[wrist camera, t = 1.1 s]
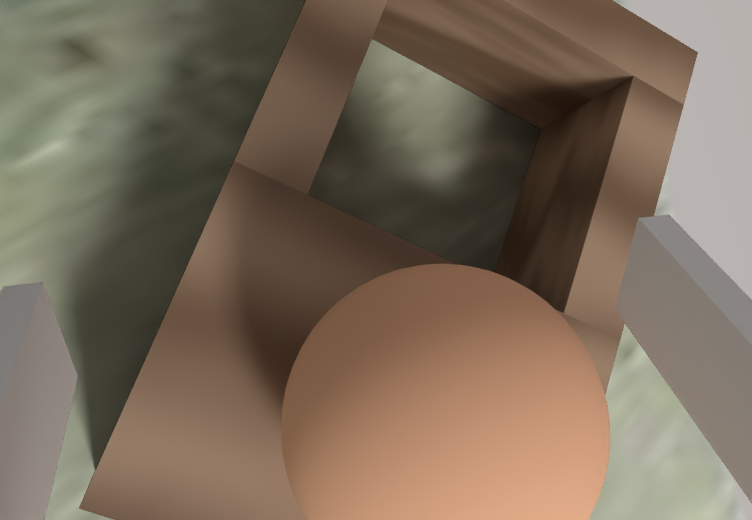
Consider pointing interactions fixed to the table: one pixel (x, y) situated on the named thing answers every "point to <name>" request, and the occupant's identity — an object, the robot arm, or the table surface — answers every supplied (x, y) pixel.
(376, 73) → the table surface
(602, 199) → the walnut stand
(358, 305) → the ball
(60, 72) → the table surface
